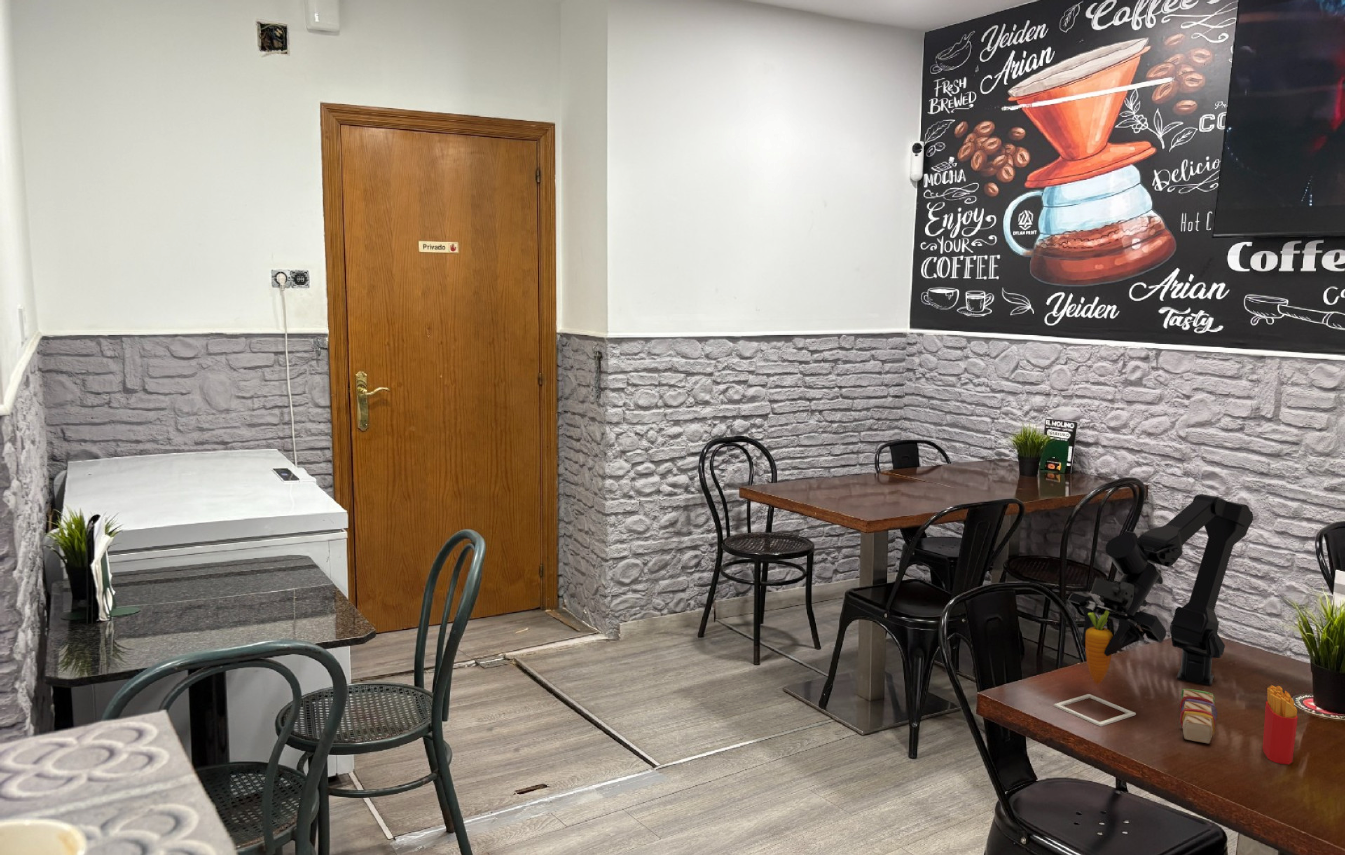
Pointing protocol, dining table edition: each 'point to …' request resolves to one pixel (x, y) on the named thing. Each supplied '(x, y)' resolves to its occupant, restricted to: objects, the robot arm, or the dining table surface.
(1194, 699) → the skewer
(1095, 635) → the carrot
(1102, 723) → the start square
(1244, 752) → the dining table surface
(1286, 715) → the french fries
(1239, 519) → the robot arm
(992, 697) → the dining table surface
